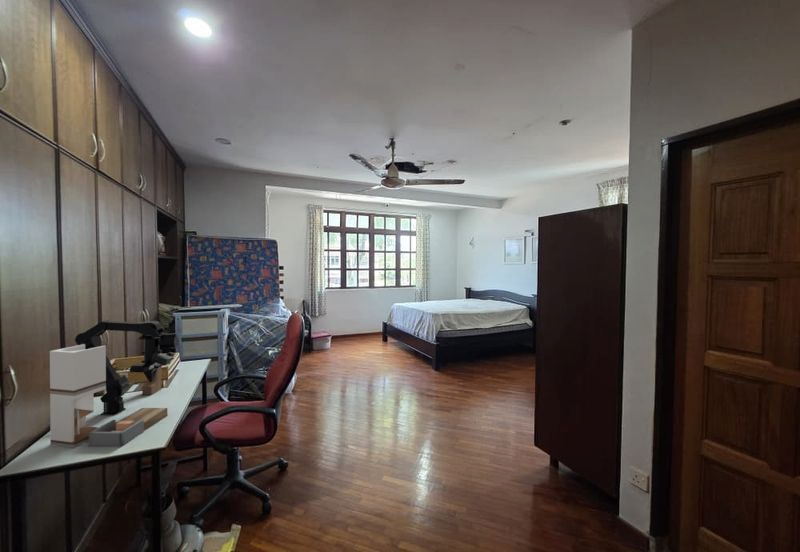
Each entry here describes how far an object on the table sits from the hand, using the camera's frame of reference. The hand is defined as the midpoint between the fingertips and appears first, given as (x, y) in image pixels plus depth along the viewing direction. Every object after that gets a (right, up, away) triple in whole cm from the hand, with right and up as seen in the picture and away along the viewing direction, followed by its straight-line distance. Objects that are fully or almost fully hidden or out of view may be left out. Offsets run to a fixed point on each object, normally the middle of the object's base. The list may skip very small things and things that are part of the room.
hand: (151, 382), depth 159 cm
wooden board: (+7, -13, -14) cm, 20 cm away
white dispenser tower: (-7, -14, -28) cm, 32 cm away
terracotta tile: (+8, -11, -24) cm, 27 cm away
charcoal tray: (+7, -14, -27) cm, 31 cm away
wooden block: (-15, -12, +21) cm, 29 cm away
